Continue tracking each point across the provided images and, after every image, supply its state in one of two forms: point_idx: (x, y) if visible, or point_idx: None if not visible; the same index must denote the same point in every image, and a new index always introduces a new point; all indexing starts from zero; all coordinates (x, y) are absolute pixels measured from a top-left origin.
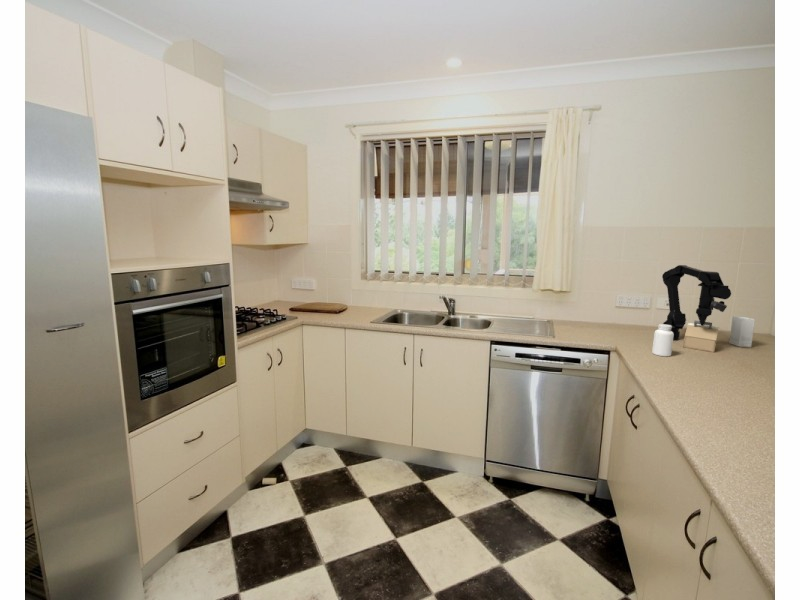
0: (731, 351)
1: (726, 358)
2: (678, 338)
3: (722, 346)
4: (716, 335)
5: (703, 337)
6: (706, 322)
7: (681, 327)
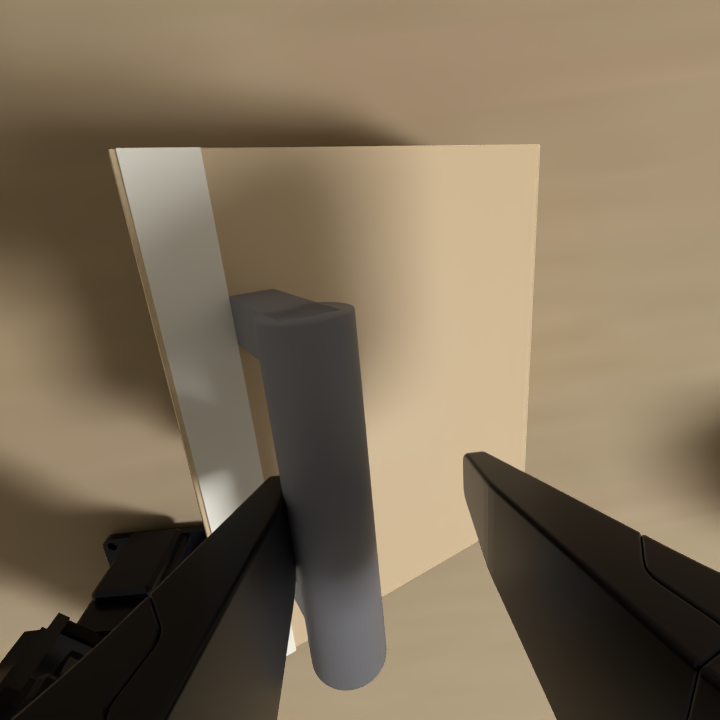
0: (221, 2)
1: (683, 5)
2: (177, 533)
3: (22, 139)
4: (437, 154)
5: (515, 323)
6: (348, 461)
7: (56, 638)
